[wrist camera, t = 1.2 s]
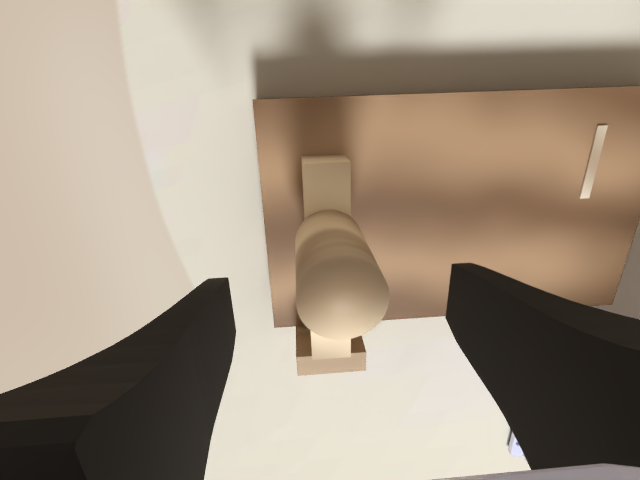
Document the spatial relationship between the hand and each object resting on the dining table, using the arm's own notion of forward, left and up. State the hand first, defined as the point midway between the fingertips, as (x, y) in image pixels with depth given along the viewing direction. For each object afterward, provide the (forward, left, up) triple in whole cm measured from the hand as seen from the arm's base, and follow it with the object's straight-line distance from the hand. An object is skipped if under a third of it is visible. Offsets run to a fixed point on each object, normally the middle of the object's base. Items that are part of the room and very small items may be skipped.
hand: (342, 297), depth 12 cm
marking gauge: (-2, 0, -9) cm, 9 cm away
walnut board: (0, -7, -9) cm, 11 cm away
